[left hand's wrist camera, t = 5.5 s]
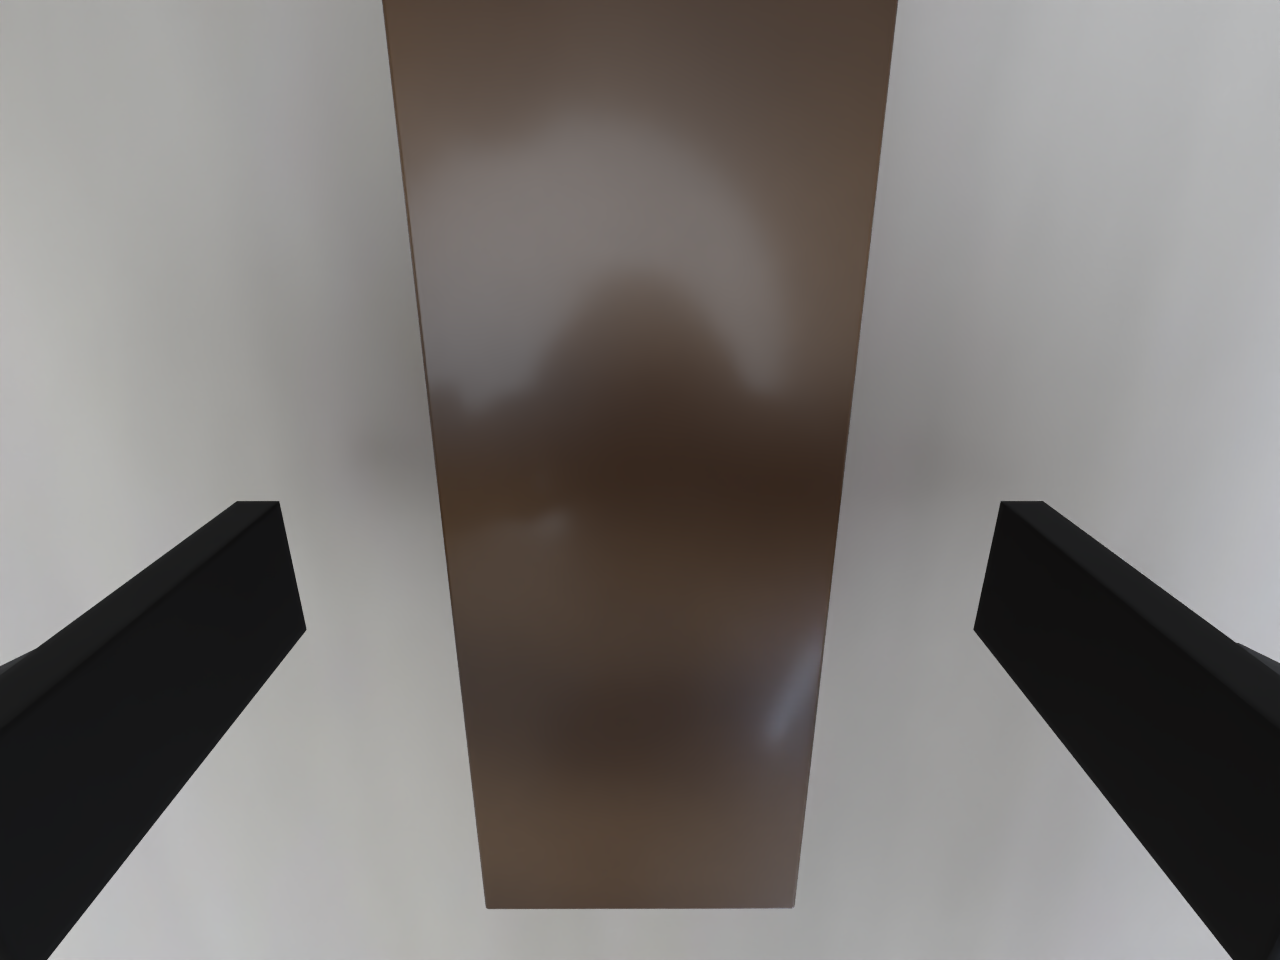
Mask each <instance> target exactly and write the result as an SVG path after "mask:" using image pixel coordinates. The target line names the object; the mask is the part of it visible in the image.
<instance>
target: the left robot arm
mask: <svg viewBox="0 0 1280 960" xmlns="http://www.w3.org/2000/svg"><path fill="white" fill-rule="evenodd" d="M305 631H306V625H305V620H304V616H303V611H302V606H301V601H300V597H299V592H298V587H297V583H296V578H295V573H294V569H293V564H292V559H291V554H290V550H289V545H288V540H287V536H286V531H285V526H284V522H283V517H282V512H281V508H280V503H279V501H237V502H235V503H234V504H233V505H231V506H230V507H229V508H227V509H226V510H224V511H223V512H222V513H220V514H219V515H218V516H216V517H215V518H214V519H212V520H211V521H209V522H208V523H207V524H205V525H204V526H203V527H201V528H200V529H199V530H197V531H196V532H194V533H193V534H192V535H190V536H189V537H188V538H186V539H185V540H184V541H182V542H181V543H179V544H178V545H177V546H175V547H174V548H173V549H171V550H170V551H169V552H167V553H166V554H164V555H163V556H162V557H160V558H159V559H158V560H156V561H155V562H154V563H152V564H151V565H149V566H148V567H147V568H145V569H144V570H143V571H141V572H140V573H139V574H137V575H136V576H134V577H133V578H132V579H130V580H129V581H128V582H126V583H125V584H124V585H122V586H121V587H120V588H118V589H117V590H115V591H114V592H113V593H111V594H110V595H109V596H107V597H106V598H105V599H103V600H102V601H100V602H99V603H98V604H96V605H95V606H94V607H92V608H91V609H90V610H88V611H87V612H85V613H84V614H83V615H81V616H80V617H79V618H77V619H76V620H75V621H73V622H72V623H70V624H69V625H68V626H66V627H65V628H64V629H62V630H61V631H60V632H58V633H57V634H55V635H54V636H53V637H51V638H50V639H49V640H47V641H46V642H45V643H43V644H42V645H40V646H39V647H38V648H36V649H34V650H32V651H30V652H28V653H26V654H24V655H22V656H20V657H18V658H16V659H14V660H12V661H10V662H8V663H6V664H4V665H2V666H0V960H47V959H48V958H49V957H50V955H51V954H52V953H53V952H54V950H55V949H56V948H57V946H58V945H59V944H60V943H61V941H62V940H63V939H64V938H65V936H66V935H67V934H68V932H69V931H70V930H71V929H72V927H73V926H74V925H75V924H76V922H77V921H78V920H79V918H80V917H81V916H82V915H83V913H84V912H85V911H86V910H87V908H88V907H89V906H90V904H91V903H92V902H93V901H94V899H95V898H96V897H97V896H98V894H99V893H100V892H101V891H102V889H103V888H104V887H105V885H106V884H107V883H108V882H109V880H110V879H111V878H112V877H113V875H114V874H115V873H116V871H117V870H118V869H119V868H120V866H121V865H122V864H123V863H124V861H125V860H126V859H127V857H128V856H129V855H130V854H131V852H132V851H133V850H134V849H135V847H136V846H137V845H138V843H139V842H140V841H141V840H142V838H143V837H144V836H145V835H146V833H147V832H148V831H149V829H150V828H151V827H152V826H153V824H154V823H155V822H156V821H157V819H158V818H159V817H160V815H161V814H162V813H163V812H164V810H165V809H166V808H167V807H168V805H169V804H170V803H171V801H172V800H173V799H174V798H175V796H176V795H177V794H178V793H179V791H180V790H181V789H182V787H183V786H184V785H185V784H186V782H187V781H188V780H189V779H190V777H191V776H192V775H193V773H194V772H195V771H196V770H197V768H198V767H199V766H200V765H201V763H202V762H203V761H204V759H205V758H206V757H207V756H208V754H209V753H210V752H211V751H212V749H213V748H214V747H215V745H216V744H217V743H218V742H219V740H220V739H221V738H222V737H223V735H224V734H225V733H226V732H227V730H228V729H229V728H230V726H231V725H232V724H233V723H234V721H235V720H236V719H237V718H238V716H239V715H240V714H241V712H242V711H243V710H244V709H245V707H246V706H247V705H248V704H249V702H250V701H251V700H252V698H253V697H254V696H255V695H256V693H257V692H258V691H259V690H260V688H261V687H262V686H263V684H264V683H265V682H266V681H267V679H268V678H269V677H270V676H271V674H272V673H273V672H274V670H275V669H276V668H277V667H278V665H279V664H280V663H281V662H282V660H283V659H284V658H285V656H286V655H287V654H288V653H289V651H290V650H291V649H292V648H293V646H294V645H295V644H296V642H297V641H298V640H299V639H300V637H301V636H302V635H303V634H304V632H305ZM974 631H975V632H976V634H977V635H978V636H979V637H980V639H981V640H982V641H983V642H984V644H985V645H986V646H987V648H988V649H989V650H990V651H991V653H992V654H993V655H994V656H995V658H996V659H997V660H998V662H999V663H1000V664H1001V665H1002V667H1003V668H1004V669H1005V670H1006V672H1007V673H1008V674H1009V676H1010V677H1011V678H1012V679H1013V681H1014V682H1015V683H1016V684H1017V686H1018V687H1019V688H1020V690H1021V691H1022V692H1023V693H1024V695H1025V696H1026V697H1027V698H1028V700H1029V701H1030V702H1031V704H1032V705H1033V706H1034V707H1035V709H1036V710H1037V711H1038V712H1039V714H1040V715H1041V716H1042V718H1043V719H1044V720H1045V721H1046V723H1047V724H1048V725H1049V726H1050V728H1051V729H1052V730H1053V732H1054V733H1055V734H1056V735H1057V737H1058V738H1059V739H1060V740H1061V742H1062V743H1063V744H1064V745H1065V747H1066V748H1067V749H1068V751H1069V752H1070V753H1071V754H1072V756H1073V757H1074V758H1075V759H1076V761H1077V762H1078V763H1079V765H1080V766H1081V767H1082V768H1083V770H1084V771H1085V772H1086V773H1087V775H1088V776H1089V777H1090V779H1091V780H1092V781H1093V782H1094V784H1095V785H1096V786H1097V787H1098V789H1099V790H1100V791H1101V793H1102V794H1103V795H1104V796H1105V798H1106V799H1107V800H1108V801H1109V803H1110V804H1111V805H1112V807H1113V808H1114V809H1115V810H1116V812H1117V813H1118V814H1119V815H1120V817H1121V818H1122V819H1123V821H1124V822H1125V823H1126V824H1127V826H1128V827H1129V828H1130V829H1131V831H1132V832H1133V833H1134V835H1135V836H1136V837H1137V838H1138V840H1139V841H1140V842H1141V843H1142V845H1143V846H1144V847H1145V849H1146V850H1147V851H1148V852H1149V854H1150V855H1151V856H1152V857H1153V859H1154V860H1155V861H1156V863H1157V864H1158V865H1159V866H1160V868H1161V869H1162V870H1163V871H1164V873H1165V874H1166V875H1167V877H1168V878H1169V879H1170V880H1171V882H1172V883H1173V884H1174V885H1175V887H1176V888H1177V889H1178V891H1179V892H1180V893H1181V894H1182V896H1183V897H1184V898H1185V899H1186V901H1187V902H1188V903H1189V905H1190V906H1191V907H1192V908H1193V910H1194V911H1195V912H1196V913H1197V915H1198V916H1199V917H1200V918H1201V920H1202V921H1203V922H1204V924H1205V925H1206V926H1207V927H1208V929H1209V930H1210V931H1211V932H1212V934H1213V935H1214V936H1215V938H1216V939H1217V940H1218V941H1219V943H1220V944H1221V945H1222V946H1223V948H1224V949H1225V950H1226V952H1227V953H1228V954H1229V955H1230V957H1231V958H1232V959H1233V960H1280V663H1278V662H1276V661H1274V660H1272V659H1270V658H1268V657H1266V656H1264V655H1262V654H1260V653H1258V652H1256V651H1254V650H1252V649H1250V648H1248V647H1246V646H1244V645H1241V644H1239V643H1235V642H1234V641H1233V640H1231V639H1230V638H1229V637H1227V636H1226V635H1225V634H1223V633H1222V632H1220V631H1219V630H1218V629H1216V628H1215V627H1214V626H1212V625H1211V624H1210V623H1208V622H1207V621H1205V620H1204V619H1203V618H1201V617H1200V616H1199V615H1197V614H1196V613H1195V612H1193V611H1192V610H1190V609H1189V608H1188V607H1186V606H1185V605H1184V604H1182V603H1181V602H1180V601H1178V600H1177V599H1175V598H1174V597H1173V596H1171V595H1170V594H1169V593H1167V592H1166V591H1165V590H1163V589H1162V588H1160V587H1159V586H1158V585H1156V584H1155V583H1154V582H1152V581H1151V580H1150V579H1148V578H1147V577H1146V576H1144V575H1143V574H1141V573H1140V572H1139V571H1137V570H1136V569H1135V568H1133V567H1132V566H1131V565H1129V564H1128V563H1126V562H1125V561H1124V560H1122V559H1121V558H1120V557H1118V556H1117V555H1116V554H1114V553H1113V552H1111V551H1110V550H1109V549H1107V548H1106V547H1105V546H1103V545H1102V544H1101V543H1099V542H1098V541H1096V540H1095V539H1094V538H1092V537H1091V536H1090V535H1088V534H1087V533H1086V532H1084V531H1083V530H1081V529H1080V528H1079V527H1077V526H1076V525H1075V524H1073V523H1072V522H1071V521H1069V520H1068V519H1066V518H1065V517H1064V516H1062V515H1061V514H1060V513H1058V512H1057V511H1056V510H1054V509H1053V508H1051V507H1050V506H1049V505H1047V504H1046V503H1045V502H1043V501H1001V503H1000V508H999V512H998V517H997V522H996V526H995V531H994V536H993V540H992V545H991V550H990V554H989V559H988V564H987V569H986V573H985V578H984V583H983V587H982V592H981V597H980V601H979V606H978V611H977V616H976V620H975V625H974Z"/></svg>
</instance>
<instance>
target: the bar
mask: <svg viewBox="0 0 1280 960" xmlns="http://www.w3.org/2000/svg"><path fill="white" fill-rule="evenodd" d="M382 4H383V13H384V22H385V30H386V39H387V48H388V57H389V65H390V74H391V83H392V92H393V100H394V109H395V118H396V126H397V135H398V144H399V153H400V161H401V170H402V179H403V188H404V196H405V205H406V214H407V223H408V231H409V240H410V249H411V258H412V266H413V275H414V284H415V293H416V301H417V310H418V319H419V327H420V336H421V345H422V354H423V362H424V371H425V380H426V389H427V397H428V406H429V415H430V424H431V432H432V441H433V450H434V459H435V467H436V476H437V485H438V494H439V502H440V511H441V520H442V529H443V537H444V546H445V555H446V563H447V572H448V581H449V590H450V598H451V607H452V616H453V625H454V633H455V642H456V651H457V660H458V668H459V677H460V686H461V695H462V703H463V712H464V721H465V730H466V738H467V747H468V756H469V765H470V773H471V782H472V791H473V799H474V808H475V817H476V826H477V834H478V843H479V852H480V861H481V869H482V878H483V887H484V896H485V904H486V908H487V909H741V908H794V905H795V897H796V888H797V879H798V870H799V862H800V853H801V844H802V835H803V827H804V818H805V809H806V800H807V792H808V783H809V774H810V766H811V757H812V748H813V739H814V731H815V722H816V713H817V704H818V696H819V687H820V678H821V669H822V661H823V652H824V643H825V634H826V626H827V617H828V608H829V600H830V591H831V582H832V573H833V565H834V556H835V547H836V538H837V530H838V521H839V512H840V503H841V495H842V486H843V477H844V468H845V460H846V451H847V442H848V434H849V425H850V416H851V407H852V399H853V390H854V381H855V372H856V364H857V355H858V346H859V337H860V329H861V320H862V311H863V302H864V294H865V285H866V276H867V268H868V259H869V250H870V241H871V233H872V224H873V215H874V206H875V198H876V189H877V180H878V171H879V163H880V154H881V145H882V136H883V128H884V119H885V110H886V102H887V93H888V84H889V75H890V67H891V58H892V49H893V40H894V32H895V23H896V14H897V5H898V0H382Z"/></svg>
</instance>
